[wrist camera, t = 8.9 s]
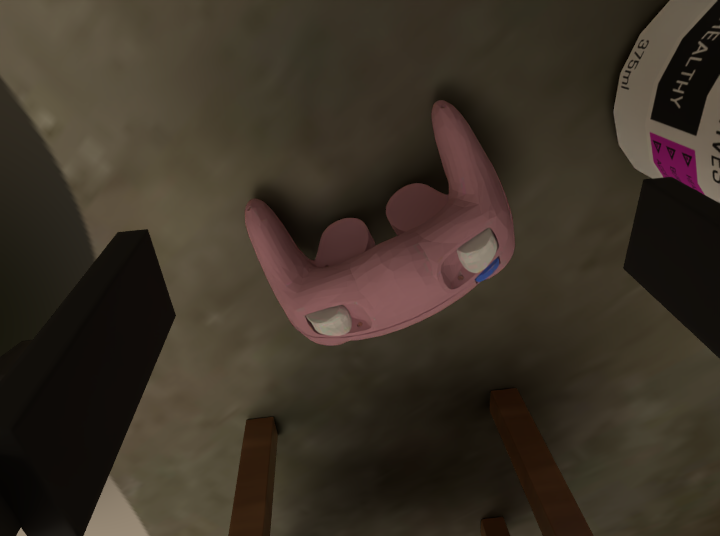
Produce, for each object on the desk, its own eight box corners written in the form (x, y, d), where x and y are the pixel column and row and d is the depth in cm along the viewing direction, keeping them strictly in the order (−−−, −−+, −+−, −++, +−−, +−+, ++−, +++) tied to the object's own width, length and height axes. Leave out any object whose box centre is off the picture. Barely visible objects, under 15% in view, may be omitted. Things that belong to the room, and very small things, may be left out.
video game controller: (284, 253, 24) (317, 384, 20) (229, 198, 20) (256, 346, 16) (473, 158, 22) (549, 279, 18) (451, 80, 19) (541, 211, 15)
